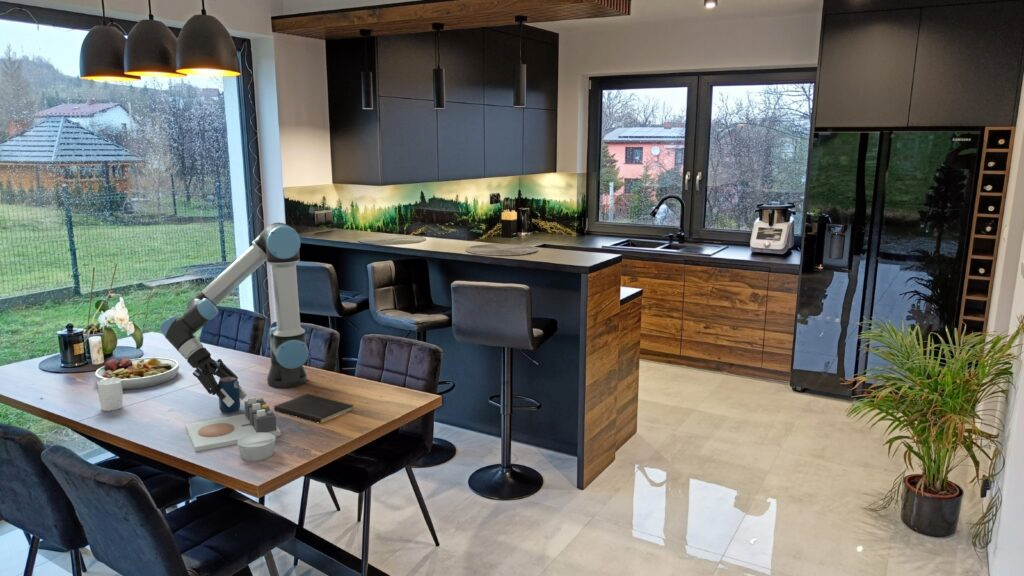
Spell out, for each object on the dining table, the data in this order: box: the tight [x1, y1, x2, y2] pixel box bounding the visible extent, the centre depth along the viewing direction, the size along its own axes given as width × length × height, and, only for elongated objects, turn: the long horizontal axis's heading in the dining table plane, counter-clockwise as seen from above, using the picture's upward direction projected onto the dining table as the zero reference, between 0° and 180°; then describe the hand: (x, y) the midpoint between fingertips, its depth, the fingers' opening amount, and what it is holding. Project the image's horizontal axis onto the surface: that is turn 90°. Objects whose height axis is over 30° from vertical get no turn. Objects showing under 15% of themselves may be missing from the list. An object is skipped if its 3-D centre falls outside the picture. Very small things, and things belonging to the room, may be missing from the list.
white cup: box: [96, 378, 124, 412], centre depth 260 cm, size 8×8×10 cm
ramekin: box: [236, 433, 277, 462], centre depth 221 cm, size 11×11×5 cm
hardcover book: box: [274, 393, 354, 424], centre depth 260 cm, size 16×23×2 cm
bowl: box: [94, 357, 180, 390], centre depth 292 cm, size 30×30×8 cm
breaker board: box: [184, 396, 282, 452], centre depth 239 cm, size 26×22×8 cm
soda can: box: [217, 376, 241, 415], centre depth 258 cm, size 7×7×12 cm
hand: (238, 401), depth 257 cm, fingers closed on soda can, 7 cm apart
